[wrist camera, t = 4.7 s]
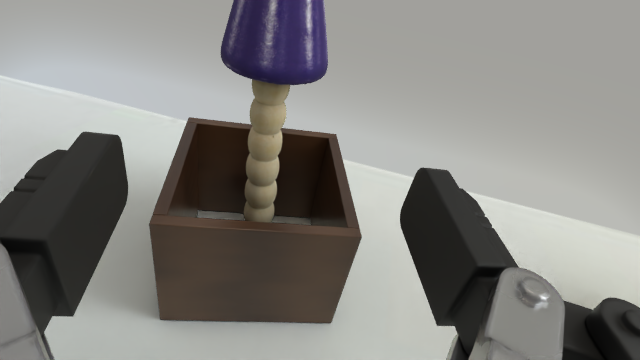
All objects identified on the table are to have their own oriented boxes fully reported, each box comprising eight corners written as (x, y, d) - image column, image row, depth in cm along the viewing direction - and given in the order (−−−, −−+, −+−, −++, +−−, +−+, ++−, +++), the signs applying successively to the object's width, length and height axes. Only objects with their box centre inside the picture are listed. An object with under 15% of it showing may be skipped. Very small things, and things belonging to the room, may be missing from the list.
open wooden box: (159, 320, 20) (148, 223, 16) (190, 203, 27) (188, 116, 23) (331, 323, 21) (362, 237, 17) (317, 213, 29) (336, 133, 24)
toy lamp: (199, 252, 24) (197, -55, 14) (255, 220, 27) (286, -48, 17) (249, 301, 22) (289, -20, 12) (304, 261, 25) (372, -20, 15)
